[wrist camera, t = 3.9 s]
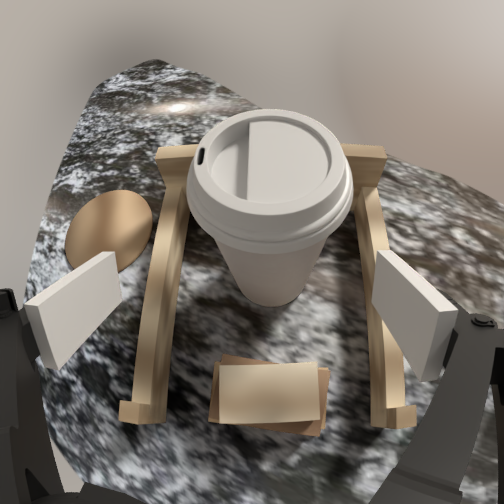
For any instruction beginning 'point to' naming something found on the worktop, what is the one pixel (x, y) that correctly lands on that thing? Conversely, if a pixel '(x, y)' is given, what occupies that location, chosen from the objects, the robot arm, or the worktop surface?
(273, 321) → the worktop surface
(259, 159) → the coffee cup
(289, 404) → the offcut top
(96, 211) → the trivet
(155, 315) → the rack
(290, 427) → the offcut mid
